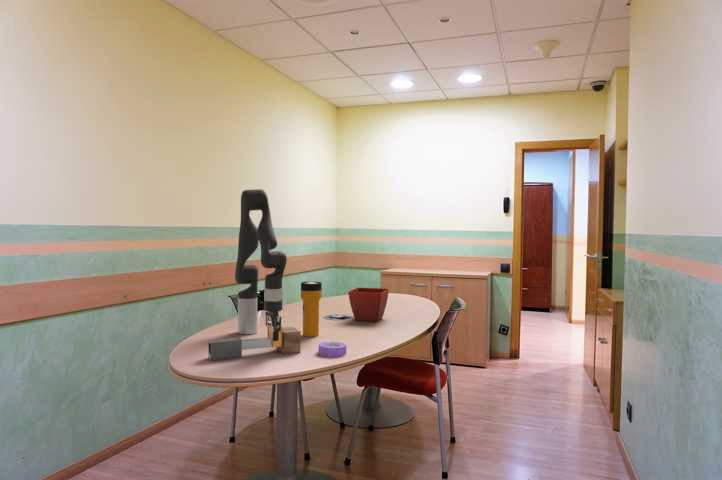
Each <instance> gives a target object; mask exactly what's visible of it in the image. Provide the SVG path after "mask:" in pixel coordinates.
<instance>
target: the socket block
mask: <svg viewBox="0 0 722 480" xmlns="http://www.w3.org/2000/svg"><path fill="white" fill-rule="evenodd" d="M282 327H283V326H282ZM301 335H302V333H301V330H299V329H298V328H296V327H294V326H285V327H283V330H282V346H280V347H276V350H278V352H280V351H281V352H280V353H282V354H283V355H291V353H292V354H300V353H301V341H302V340H301V337H302V336H301ZM299 352H300V353H299Z"/></svg>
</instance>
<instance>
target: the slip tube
mask: <svg viewBox="0 0 722 480" xmlns="http://www.w3.org/2000/svg"><path fill="white" fill-rule="evenodd" d="M276 328H277V327H276ZM282 330H283V326H282V325H281V331H279V339H278V341H273V328H272V327H271V325H269V327H268V328H267V336H265V337H256V338H246V339H245V338H244V339H241V340H242V351H247V350H255V349H256V350H257V349H265V348H277V347H280V346H282Z"/></svg>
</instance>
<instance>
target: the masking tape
mask: <svg viewBox="0 0 722 480" xmlns="http://www.w3.org/2000/svg"><path fill="white" fill-rule="evenodd" d="M347 346H348V345H347V343H345V342H341V341H333V340H331V341H323V342H319V344H318V355H320V356H323V357H330V358H332V357H334V358H335V357H336V358H337V357H343V356H345V355H346V354H347Z"/></svg>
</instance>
